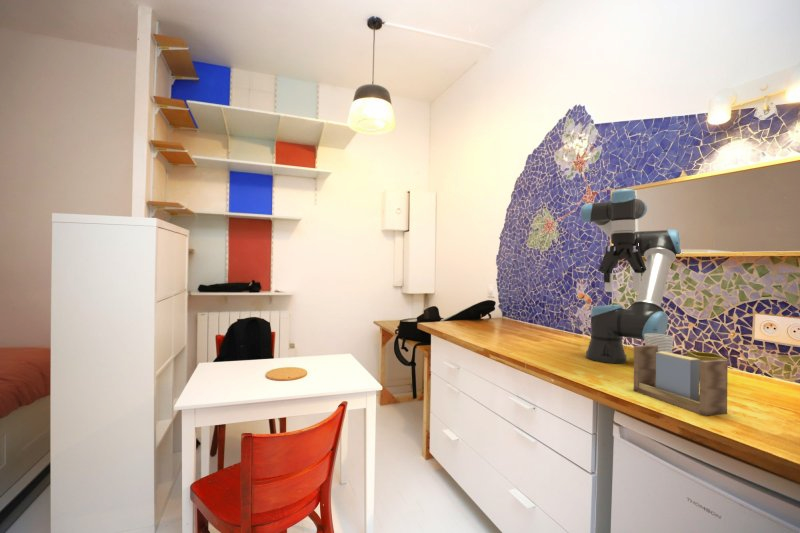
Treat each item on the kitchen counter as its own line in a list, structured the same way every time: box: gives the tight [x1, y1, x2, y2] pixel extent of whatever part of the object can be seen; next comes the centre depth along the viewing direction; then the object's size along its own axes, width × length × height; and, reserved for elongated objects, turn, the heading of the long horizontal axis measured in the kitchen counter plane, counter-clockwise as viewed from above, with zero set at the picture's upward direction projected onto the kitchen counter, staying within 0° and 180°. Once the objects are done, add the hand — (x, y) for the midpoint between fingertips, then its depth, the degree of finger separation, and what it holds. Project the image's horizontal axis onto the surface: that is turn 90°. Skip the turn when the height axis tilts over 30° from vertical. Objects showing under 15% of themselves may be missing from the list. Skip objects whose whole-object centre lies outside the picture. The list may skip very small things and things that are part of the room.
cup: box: [644, 333, 675, 353], centre depth 129 cm, size 8×8×16 cm
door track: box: [633, 344, 729, 417], centre depth 108 cm, size 8×21×14 cm, turn 17°
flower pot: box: [686, 350, 728, 381], centre depth 130 cm, size 9×9×9 cm
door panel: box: [656, 351, 700, 402], centre depth 108 cm, size 4×10×12 cm, turn 17°
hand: (622, 291), depth 135 cm, fingers open, 13 cm apart
